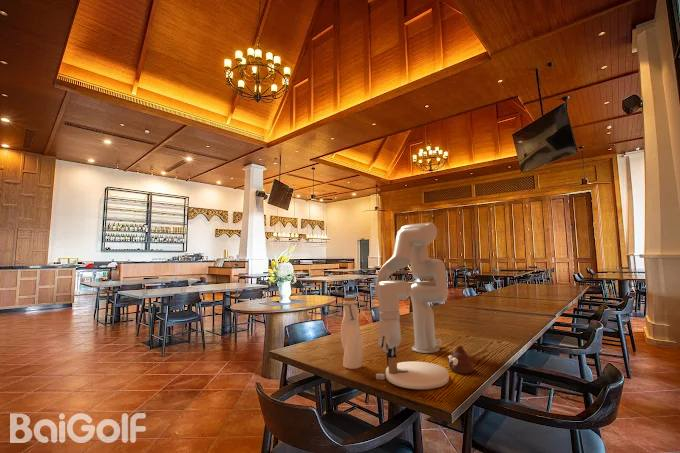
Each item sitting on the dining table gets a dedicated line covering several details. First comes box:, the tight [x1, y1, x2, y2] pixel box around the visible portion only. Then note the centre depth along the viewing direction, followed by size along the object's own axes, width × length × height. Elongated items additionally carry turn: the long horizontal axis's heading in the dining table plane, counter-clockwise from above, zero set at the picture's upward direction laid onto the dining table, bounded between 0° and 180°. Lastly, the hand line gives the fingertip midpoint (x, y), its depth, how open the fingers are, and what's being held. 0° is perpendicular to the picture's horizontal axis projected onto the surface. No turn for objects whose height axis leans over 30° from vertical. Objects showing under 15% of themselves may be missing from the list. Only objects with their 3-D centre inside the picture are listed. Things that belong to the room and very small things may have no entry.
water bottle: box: [340, 295, 364, 370], centre depth 132 cm, size 10×9×28 cm
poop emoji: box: [447, 345, 475, 375], centre depth 122 cm, size 10×8×9 cm
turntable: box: [385, 357, 450, 390], centre depth 114 cm, size 22×22×7 cm
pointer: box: [375, 373, 386, 380], centre depth 116 cm, size 3×1×2 cm, turn 82°
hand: (392, 365), depth 118 cm, fingers closed
